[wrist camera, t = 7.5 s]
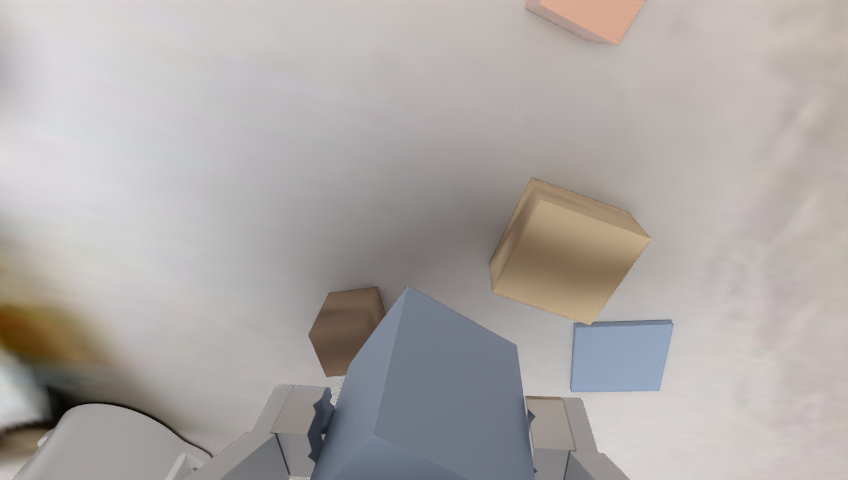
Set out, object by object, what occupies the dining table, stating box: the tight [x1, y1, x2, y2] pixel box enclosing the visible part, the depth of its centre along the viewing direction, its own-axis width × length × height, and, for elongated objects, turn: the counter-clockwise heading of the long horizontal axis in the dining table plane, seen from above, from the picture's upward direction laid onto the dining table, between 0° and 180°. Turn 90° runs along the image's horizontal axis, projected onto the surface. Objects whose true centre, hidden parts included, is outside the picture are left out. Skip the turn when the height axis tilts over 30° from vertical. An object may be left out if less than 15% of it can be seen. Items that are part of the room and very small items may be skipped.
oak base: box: [489, 178, 651, 325], centre depth 27 cm, size 7×7×4 cm
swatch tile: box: [570, 320, 673, 392], centre depth 33 cm, size 7×7×1 cm
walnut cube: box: [309, 287, 386, 377], centre depth 31 cm, size 4×4×5 cm
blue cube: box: [310, 286, 535, 480], centre depth 11 cm, size 4×4×5 cm
